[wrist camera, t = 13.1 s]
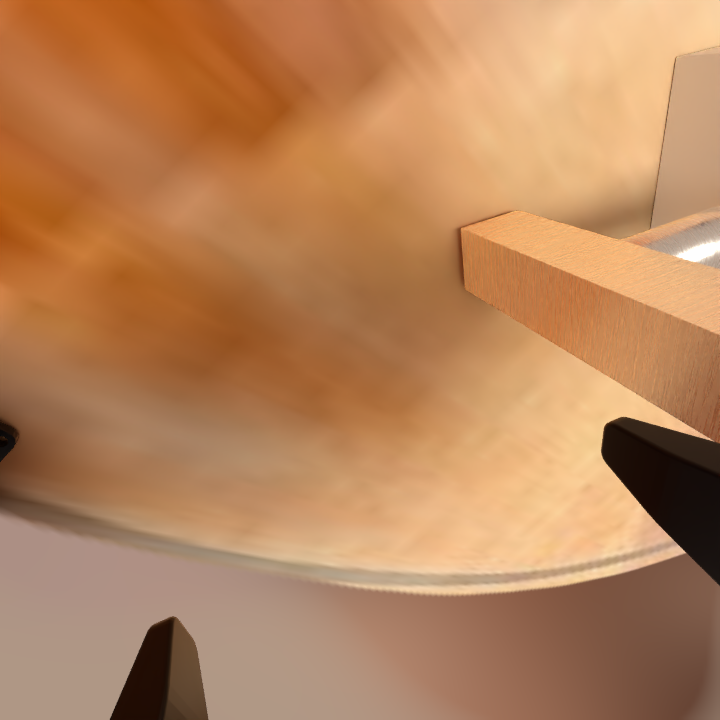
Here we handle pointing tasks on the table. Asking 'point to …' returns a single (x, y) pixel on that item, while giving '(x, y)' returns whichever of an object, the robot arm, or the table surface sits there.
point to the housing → (691, 140)
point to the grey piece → (614, 301)
